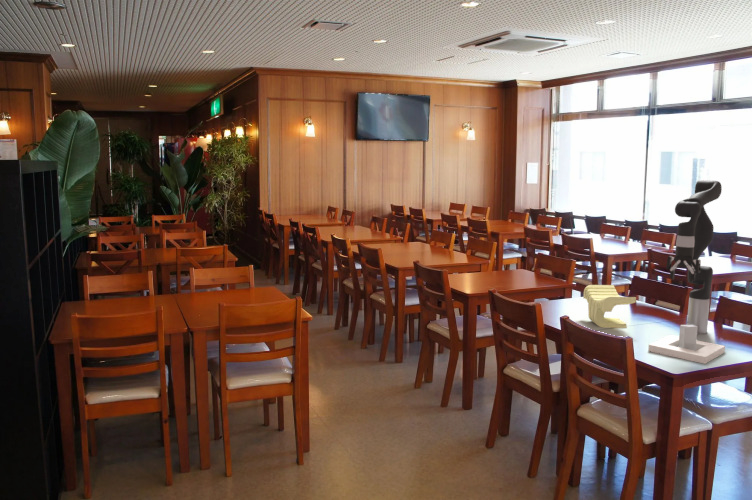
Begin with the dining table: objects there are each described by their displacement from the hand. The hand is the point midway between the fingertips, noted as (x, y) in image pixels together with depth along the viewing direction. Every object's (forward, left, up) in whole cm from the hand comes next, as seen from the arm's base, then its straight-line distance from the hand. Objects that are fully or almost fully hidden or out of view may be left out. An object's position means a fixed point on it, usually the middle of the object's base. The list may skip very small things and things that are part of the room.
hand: (682, 280), depth 296 cm
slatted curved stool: (-9, -39, -30) cm, 50 cm away
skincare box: (+10, +8, -30) cm, 33 cm away
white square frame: (+10, +8, -30) cm, 33 cm away
